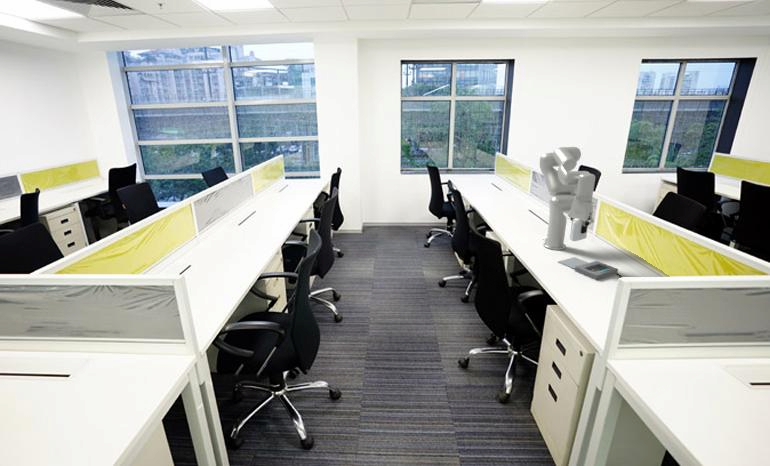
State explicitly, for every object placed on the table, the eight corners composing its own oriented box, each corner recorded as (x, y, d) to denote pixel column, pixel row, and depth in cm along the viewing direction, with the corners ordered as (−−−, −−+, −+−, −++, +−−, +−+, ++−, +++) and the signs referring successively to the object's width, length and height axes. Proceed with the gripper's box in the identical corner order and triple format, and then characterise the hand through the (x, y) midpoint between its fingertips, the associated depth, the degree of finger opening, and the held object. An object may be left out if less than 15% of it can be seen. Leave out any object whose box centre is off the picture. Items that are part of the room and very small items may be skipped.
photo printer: (579, 236, 197) (582, 214, 193) (587, 238, 193) (590, 216, 190) (568, 240, 192) (570, 217, 188) (576, 242, 188) (578, 219, 185)
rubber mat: (557, 262, 199) (557, 261, 199) (574, 257, 204) (574, 257, 204) (573, 269, 191) (573, 268, 190) (590, 264, 195) (590, 263, 195)
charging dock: (574, 271, 188) (575, 266, 187) (595, 265, 194) (596, 260, 193) (595, 280, 178) (596, 274, 177) (617, 273, 184) (618, 268, 183)
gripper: (564, 195, 191) (560, 228, 197) (593, 202, 177) (588, 237, 183) (574, 194, 194) (570, 226, 200) (604, 200, 180) (598, 235, 185)
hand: (578, 231), depth 191 cm, fingers closed on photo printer, 4 cm apart
